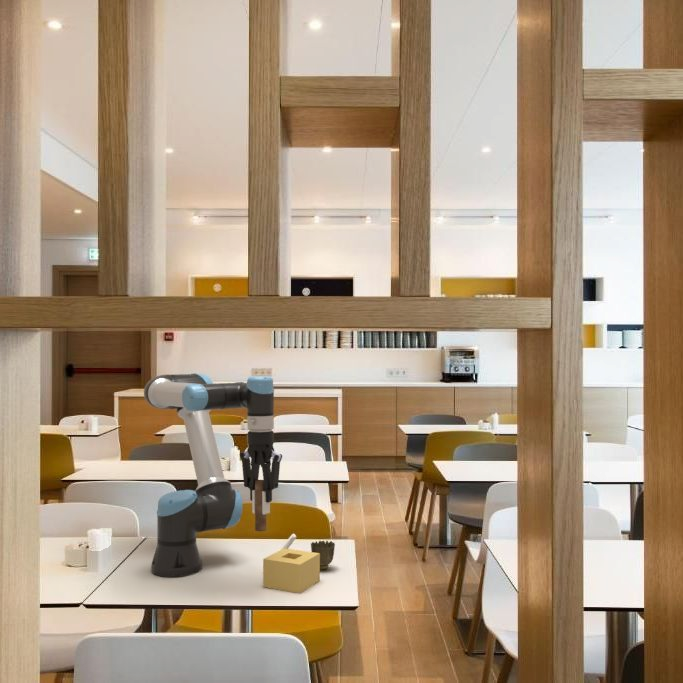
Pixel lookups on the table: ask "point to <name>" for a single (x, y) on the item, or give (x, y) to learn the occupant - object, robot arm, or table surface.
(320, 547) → the cup
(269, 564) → the hole block
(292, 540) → the hook
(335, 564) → the table surface
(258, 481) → the walnut peg
